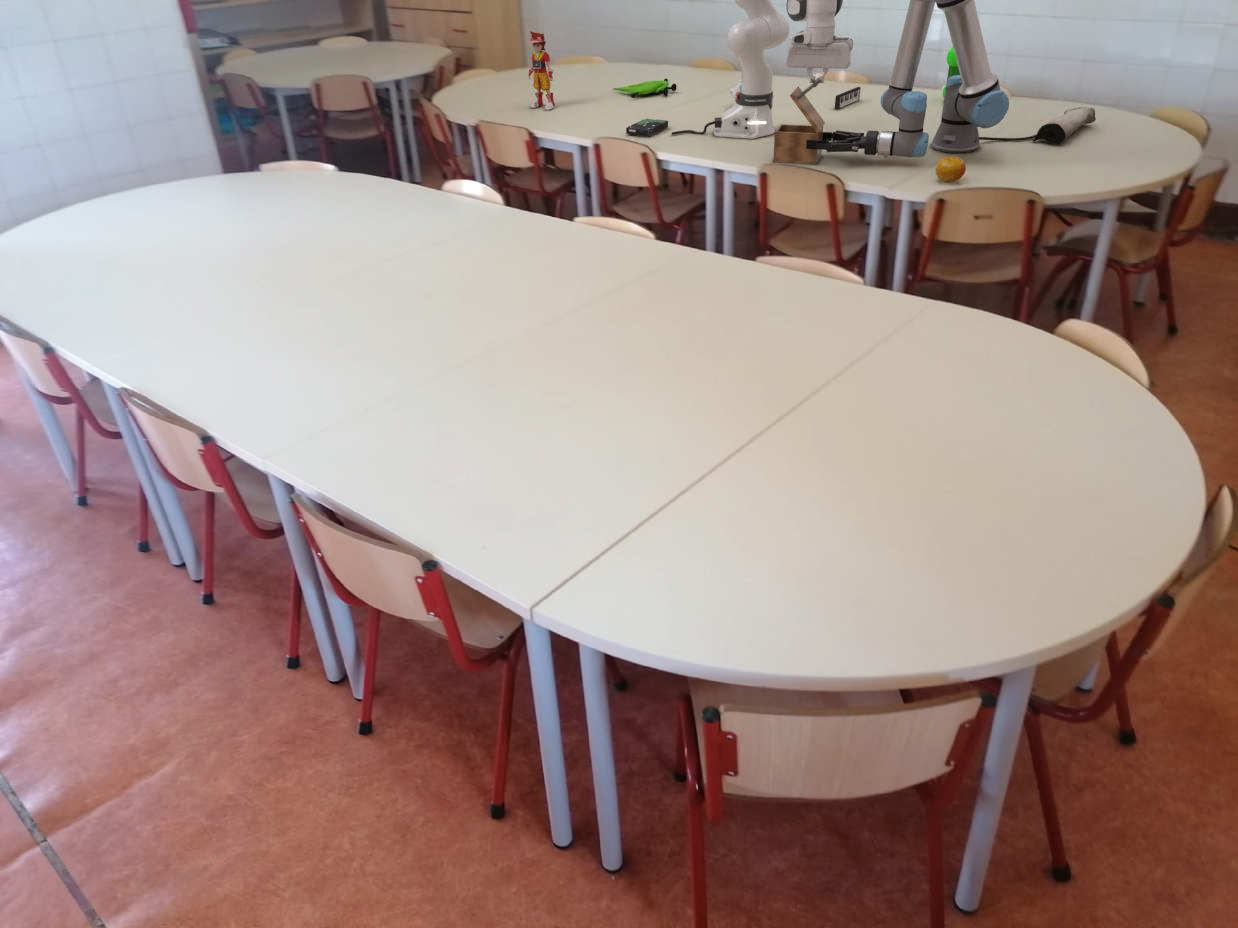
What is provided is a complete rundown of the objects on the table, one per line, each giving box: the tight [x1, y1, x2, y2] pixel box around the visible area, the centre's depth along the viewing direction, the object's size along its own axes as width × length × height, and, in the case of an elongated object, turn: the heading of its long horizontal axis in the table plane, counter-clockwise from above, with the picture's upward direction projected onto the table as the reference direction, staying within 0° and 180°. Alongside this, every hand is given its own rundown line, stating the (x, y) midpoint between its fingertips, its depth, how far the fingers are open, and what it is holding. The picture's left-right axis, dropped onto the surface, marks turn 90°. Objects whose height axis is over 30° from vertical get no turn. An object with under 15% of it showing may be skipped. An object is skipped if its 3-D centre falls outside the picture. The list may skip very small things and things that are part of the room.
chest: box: [772, 123, 824, 165], centre depth 301 cm, size 14×10×10 cm, turn 69°
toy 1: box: [527, 31, 556, 111], centre depth 374 cm, size 12×9×30 cm
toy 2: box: [612, 78, 677, 99], centre depth 396 cm, size 28×5×30 cm
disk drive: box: [625, 118, 669, 137], centre depth 342 cm, size 10×3×15 cm
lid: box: [789, 77, 826, 132], centre depth 292 cm, size 15×10×9 cm
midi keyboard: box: [834, 86, 861, 110], centre depth 359 cm, size 18×1×5 cm, turn 138°
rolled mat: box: [1032, 106, 1097, 146], centre depth 310 cm, size 30×9×10 cm
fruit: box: [935, 155, 967, 183], centre depth 275 cm, size 8×8×8 cm
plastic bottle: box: [942, 46, 960, 98], centre depth 348 cm, size 10×10×25 cm
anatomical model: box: [729, 81, 742, 102], centre depth 363 cm, size 15×10×10 cm
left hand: (816, 83), depth 288 cm, fingers closed on lid
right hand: (809, 140), depth 299 cm, fingers closed on chest, 10 cm apart
